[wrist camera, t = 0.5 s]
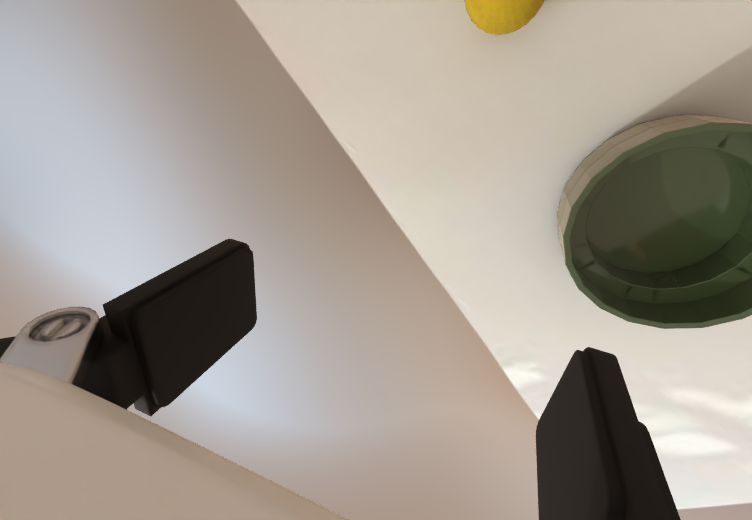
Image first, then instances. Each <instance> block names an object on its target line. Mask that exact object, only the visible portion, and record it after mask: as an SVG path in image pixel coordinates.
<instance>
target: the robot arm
mask: <svg viewBox="0 0 752 520" xmlns="http://www.w3.org/2000/svg"><path fill="white" fill-rule="evenodd" d="M103 308H104V311H105V314H106V315H105V316H103V317H101V318H100V319H99V316H98V315H97V313H96V311H94V310H92V309H90V308H86V307H68V308H61V309H57V310H54V311H50V312H47V313H45V314H43V315H41V316H39V317H36V318H35V319H33V320H32V321H30V322H28V323H27V324H26V325H25V326H24V327H23V328H22V329H21V331H20V332H19V333H18V335H17V336H16V337H9V338H3V339H0V520H349V519H347V518H345V517H343V516H341V515H339V514H337V513H335V512H333V511H331V510H329V509H327V508H325V507H323V506H321V505H319V504H317V503H314V502H313V501H311V500H309V499H306V498H305V497H303V496H300V495H299V494H297V493H295V492H293V491H291V490H288V489H287V488H284V487H283V486H281V485H279V484H276V483H274V482H272V481H270V480H268V479H266V478H264V477H262V476H260V475H258V474H256V473H254V472H252V471H250V470H248V469H246V468H244V467H242V466H240V465H238V464H236V463H234V462H232V461H230V460H228V459H226V458H224V457H222V456H220V455H218V454H216V453H214V452H212V451H210V450H208V449H206V448H204V447H201V446H200V445H198V444H196V443H194V442H191V441H189V440H187V439H185V438H183V437H181V436H179V435H177V434H175V433H173V432H171V431H169V430H167V429H165V428H163V427H161V426H159V425H157V424H155V423H152V422H151V421H148V420H146V419H144V418H142V417H140V416H138V415H136V414H134V413H132V412H130V411H128V410H127V408H128V407H129V406H130V405H132V404H133V403H134V405H135V408H136V409H137V410H139V411H141V412H143V413H145V414H147V415H149V416H152V415H153V414H154V413H155V412H156V411H158V409H159V408H161V407H165V406H167V405H169V404H170V403H171V402H172V401H174V399H176V398H177V397H178V396H179V395H180V394H181V393H182V392H183V391H184V390H185V389H187V388H188V387H189V386H190V385H191V384H192V383H193V382H194V381H195V380H196V379H198V378H199V377H200V376H201V375H202V374H203V373H204V372H205V371H207V370H208V369H209V368H210V367H211V366H212V365H213V364H214V363H215V362H216V361H218V359H220V358H221V357H222V356H223V355H224V354H225V353H226V352H227V351H228V350H230V349H231V348H232V347H233V346H234V345H235V344H236V343H237V342H238V341H240V339H242V338H243V337H244V336H245V335H246V334H247V333H248V332H250V331H251V330H252V329H253V327H254V326H255V324H256V320H257V313H256V296H255V279H254V261H253V252H252V251H251V250H250V248H249V246H248V245H247V244H246V243H243V242H240V241H236V240H233V239H227V240H225V241H223V242H221V243H219V244H217V245H215V246H213V247H211V248H210V249H208V250H206V251H204V252H202V253H200V254H198V255H196V256H194V257H193V258H191V259H189V260H187V261H185V262H183V263H181V264H179V265H177V266H175V267H173V268H172V269H170V270H168V271H166V272H164V273H162V274H160V275H158V276H157V277H154V278H153V279H151V280H149V281H147V282H145V283H143V284H141V285H139V286H138V287H136V288H134V289H132V290H130V291H128V292H126V293H124V294H122V295H120V296H119V297H117V298H115V299H113V300H111V301H109V302H107V303H105V304H103ZM536 450H537V451H536V452H537V478H538V479H537V480H538V504H539V505H538V506H539V520H680V517H679V515H678V512H677V509H676V506H675V503H674V501H673V498H672V495H671V492H670V489H669V487H668V484H667V481H666V478H665V476H664V473H663V470H662V467H661V464H660V462H659V459H658V456H657V453H656V451H655V448H654V445H653V442H652V439H651V437H650V434H649V432H648V430H647V428H646V426H645V425H644V424H643V423H641V422H638V419H637V416H636V413H635V410H634V407H633V404H632V401H631V398H630V395H629V393H628V390H627V387H626V384H625V381H624V378H623V375H622V372H621V369H620V366H619V363H618V360H617V358H616V356H615V355H613V354H610V353H607V352H603V351H600V350H597V349H593V348H590V347H587V348H586V349H585V350H584V351H579V350H576V351H575V353H574V354H573V356H572V358H571V360H570V362H569V364H568V366H567V368H566V370H565V371H564V373H563V375H562V377H561V379H560V381H559V383H558V385H557V387H556V389H555V391H554V393H553V395H552V396H551V398H550V400H549V402H548V404H547V406H546V408H545V410H544V412H543V414H542V416H541V418H540V420H539V422H538V425H537V430H536Z"/></svg>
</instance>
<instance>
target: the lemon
mask: <svg viewBox="0 0 752 520" xmlns="http://www.w3.org/2000/svg"><path fill="white" fill-rule="evenodd" d="M464 1H465V5H466V10H467V12H468V14H469V16H470V18H471V20H472V21H473V22H474V24H475V25H476V26H477V27H478V28H480V29H481V30H483V31H485V32H486V33H491V34H495V35H499V34H507V33H510V32H513V31H516V30H518V29H519V28H521V27H522V26H524V25H526V24H527V23H528V22H529V21H530V20H531V19H532V18H533V17H534V16H535V15H536V13H537V12H538V10H539V9H540V7H541V6H542V4H543V2H544V0H464Z"/></svg>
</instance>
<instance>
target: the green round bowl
mask: <svg viewBox="0 0 752 520" xmlns="http://www.w3.org/2000/svg"><path fill="white" fill-rule="evenodd" d="M557 220H558V230H559V238H560V242H561V247H562V251H563V255H564V260H565V264H566V266H567V268H568V270H569V272H570V274H571V276H572V278H573V280H574V282H575V283H576V285H577V287H578V289H579V290H580V291H581V292H583V293H584V294H585V295H586V296H587V297H588V298H589V299H590V300H591V301H593V302H594V303H595V304H596V305H597V306H598V307H599V308H601V309H603V310H605V311H607V312H609V313H611V314H614V315H616V316H618V317H620V318H622V319H624V320H626V321H629V322H633V323H638V324H643V325H648V326H653V327H658V328H664V329H669V328H702V327H703V328H704V327H709V326H713V325H717V324H722V323H726V322H731V321H735V320H739V319H743V318H746V317H748V316H750V315H752V123H751V122H745V121H739V120H733V119H728V118H722V117H715V116H693V115H676V116H671V117H667V118H662V119H658V120H653V121H649V122H644V123H641V124H638V125H636V126H634V127H632V128H630V129H628V130H626V131H624V132H622V133H620V134H618V135H616V136H614V137H612V138H610V139H608V140H607V141H605V142H604V143H603V144H602V145H600V146H599V147H598V148H597V149H596V150H595V151H593V152H592V153H591V154H590V155H589V156H588V157H587V158H585V159H584V160H583V161H582V162H581V163H580V164H579V166H578V167H577V169H576V170H575V172H574V173H573V175H572V176H571V178H570V179H569V181H568V182H567V184H566V186H565V187H564V189H563V193H562V197H561V200H560V204H559V208H558V212H557Z"/></svg>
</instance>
